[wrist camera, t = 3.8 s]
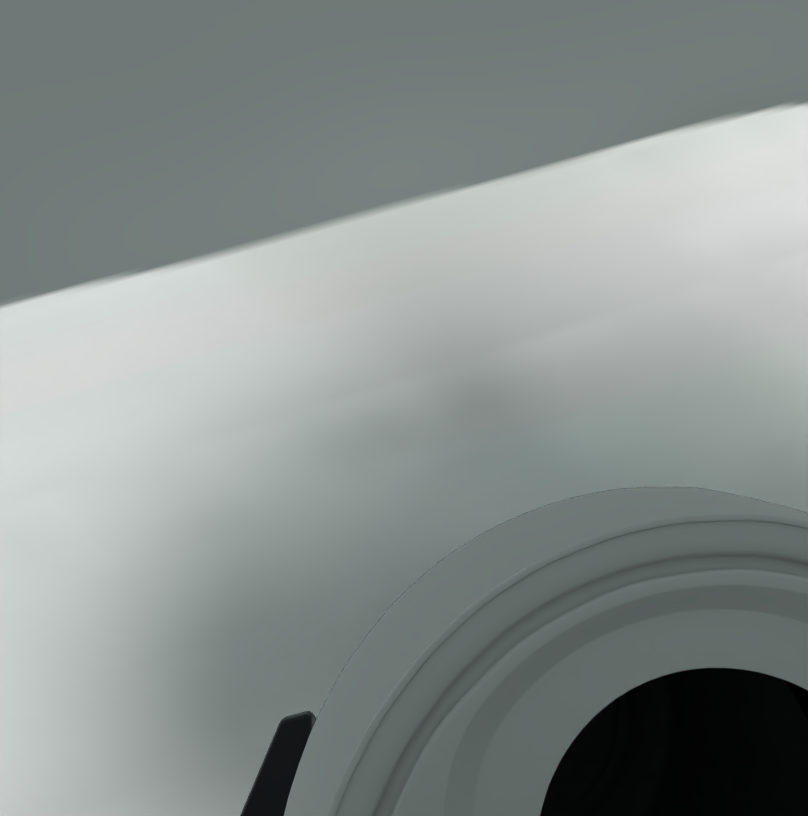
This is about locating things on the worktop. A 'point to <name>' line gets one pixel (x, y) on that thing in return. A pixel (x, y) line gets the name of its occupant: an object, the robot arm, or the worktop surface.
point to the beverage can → (583, 670)
